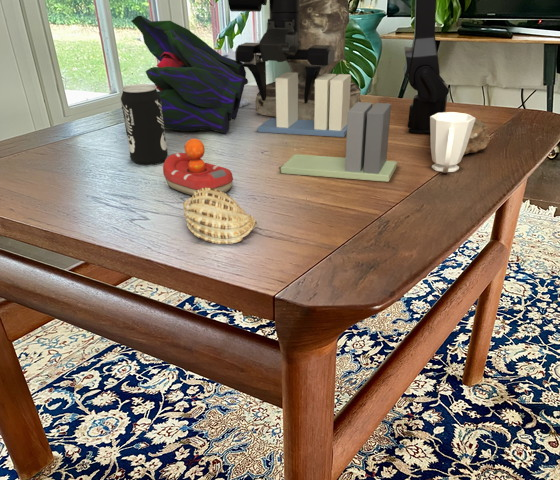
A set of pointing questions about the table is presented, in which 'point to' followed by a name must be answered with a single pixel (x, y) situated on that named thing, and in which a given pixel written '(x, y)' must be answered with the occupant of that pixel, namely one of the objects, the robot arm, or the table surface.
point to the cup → (449, 139)
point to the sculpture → (313, 31)
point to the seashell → (217, 217)
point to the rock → (477, 138)
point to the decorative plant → (192, 78)
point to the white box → (286, 99)
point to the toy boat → (195, 171)
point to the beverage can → (144, 124)
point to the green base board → (354, 149)
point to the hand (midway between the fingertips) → (284, 101)
